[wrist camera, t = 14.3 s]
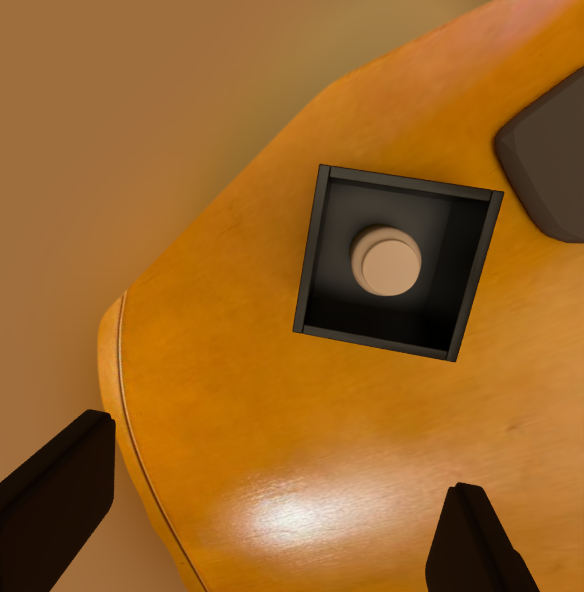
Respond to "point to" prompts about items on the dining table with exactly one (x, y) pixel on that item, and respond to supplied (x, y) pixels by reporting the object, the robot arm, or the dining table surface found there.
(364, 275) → the supplement bottle
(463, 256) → the trash bin
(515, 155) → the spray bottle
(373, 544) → the dining table surface
